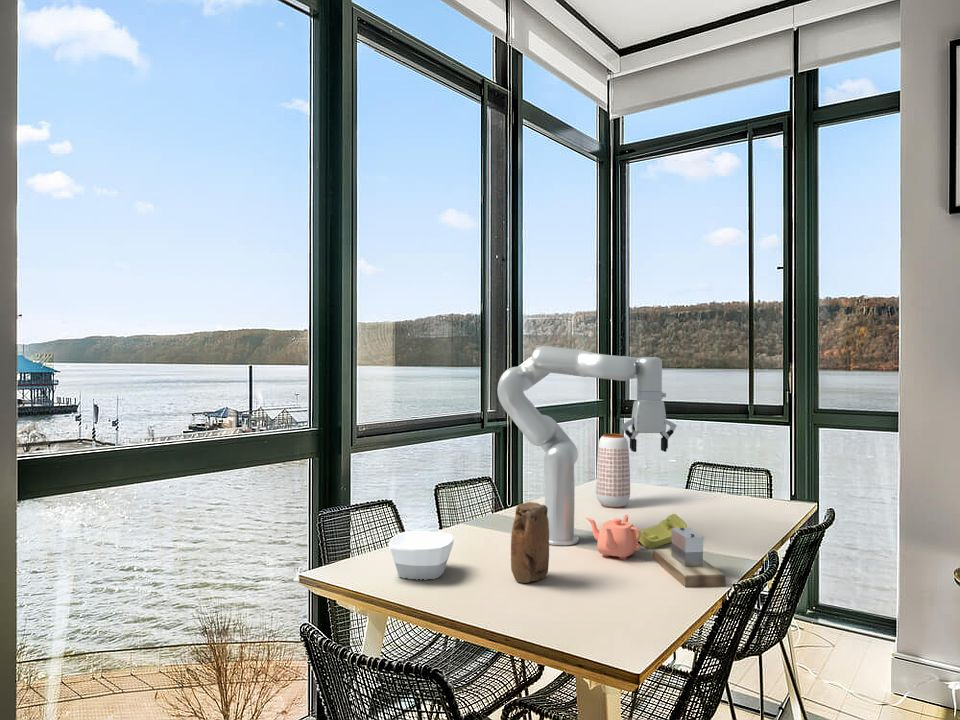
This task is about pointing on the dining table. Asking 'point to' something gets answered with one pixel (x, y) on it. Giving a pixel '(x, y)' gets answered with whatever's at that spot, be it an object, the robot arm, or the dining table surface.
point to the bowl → (421, 554)
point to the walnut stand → (689, 571)
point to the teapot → (616, 538)
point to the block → (530, 542)
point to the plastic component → (660, 532)
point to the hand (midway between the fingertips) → (648, 451)
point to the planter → (613, 471)
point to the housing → (687, 547)
